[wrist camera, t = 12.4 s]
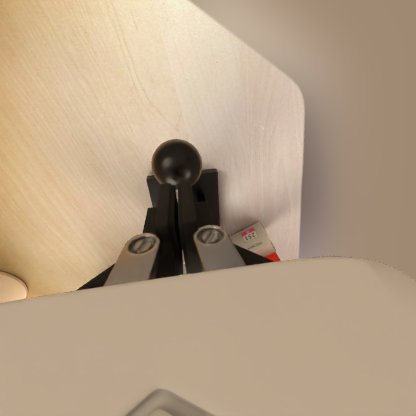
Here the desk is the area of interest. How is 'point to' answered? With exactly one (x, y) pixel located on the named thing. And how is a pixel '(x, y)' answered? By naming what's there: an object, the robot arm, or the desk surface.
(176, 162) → the lever
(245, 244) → the ink box
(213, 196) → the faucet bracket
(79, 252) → the desk surface
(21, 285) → the mug
